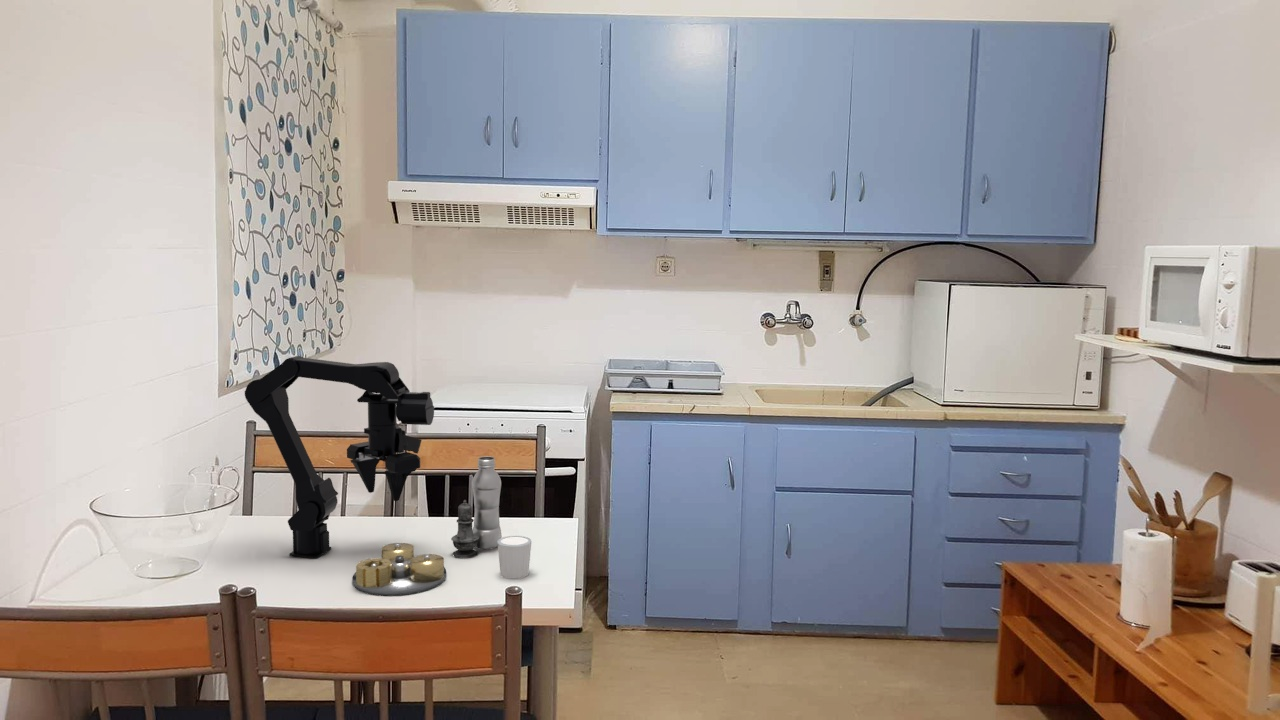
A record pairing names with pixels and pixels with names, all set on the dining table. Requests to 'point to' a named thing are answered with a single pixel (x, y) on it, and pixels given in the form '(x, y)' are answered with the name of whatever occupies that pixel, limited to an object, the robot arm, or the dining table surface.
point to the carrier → (408, 571)
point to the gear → (374, 573)
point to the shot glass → (514, 556)
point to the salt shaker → (465, 533)
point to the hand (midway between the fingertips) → (383, 496)
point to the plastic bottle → (486, 504)
